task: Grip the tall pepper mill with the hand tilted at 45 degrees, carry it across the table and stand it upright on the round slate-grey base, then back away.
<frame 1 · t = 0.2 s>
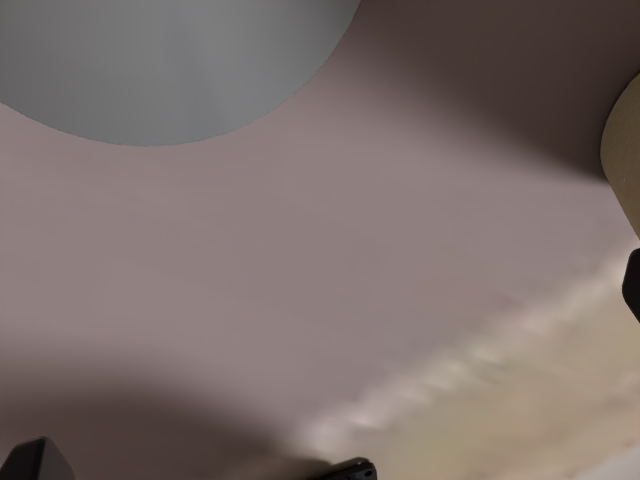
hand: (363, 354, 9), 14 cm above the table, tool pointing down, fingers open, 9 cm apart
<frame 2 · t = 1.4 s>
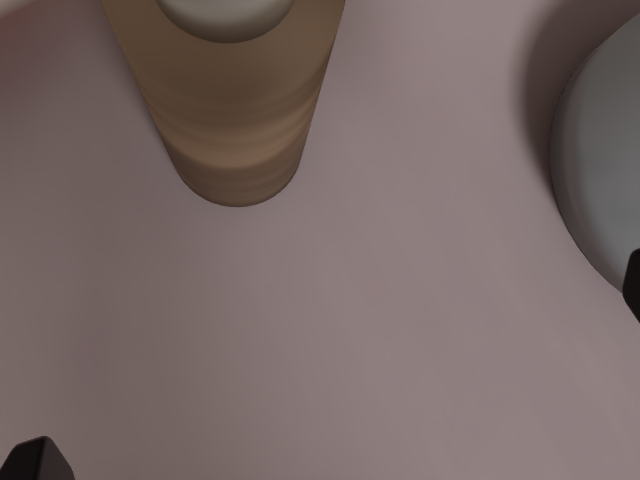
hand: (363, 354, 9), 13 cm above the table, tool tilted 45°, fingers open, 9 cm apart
pepper mill: (236, 142, 23), on the table
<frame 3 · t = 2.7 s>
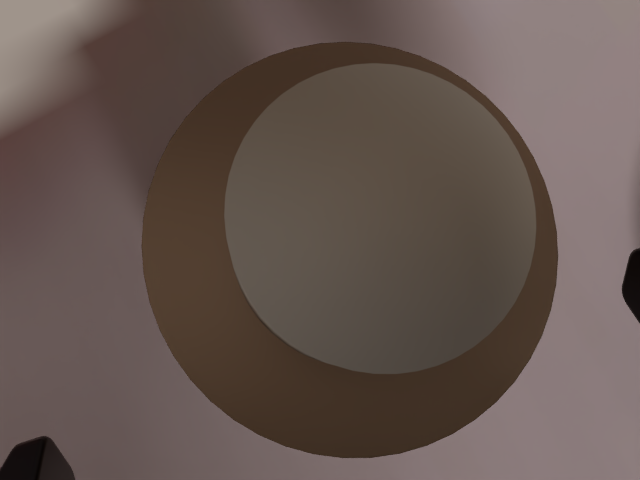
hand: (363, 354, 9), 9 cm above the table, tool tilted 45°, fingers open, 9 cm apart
pepper mill: (294, 299, 18), on the table
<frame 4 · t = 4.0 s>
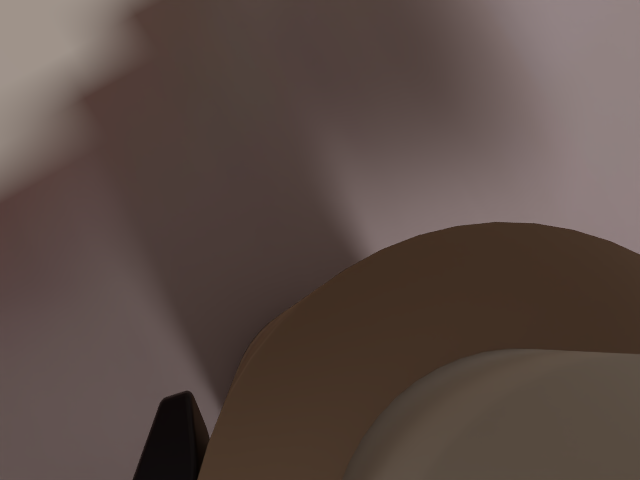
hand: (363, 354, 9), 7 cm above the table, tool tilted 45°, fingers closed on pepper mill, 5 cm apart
pepper mill: (332, 399, 15), on the table, touching gripper
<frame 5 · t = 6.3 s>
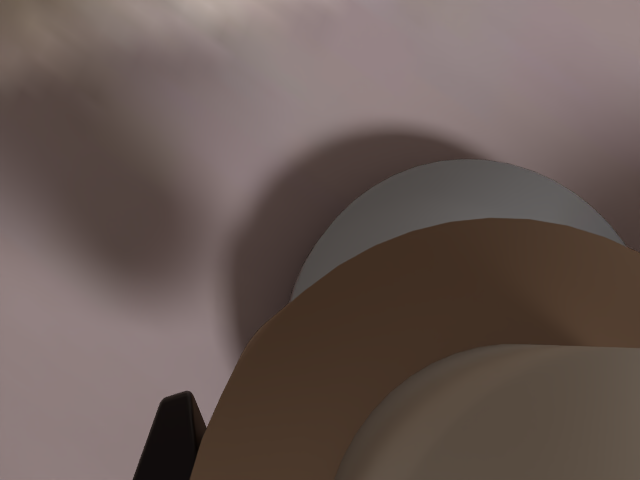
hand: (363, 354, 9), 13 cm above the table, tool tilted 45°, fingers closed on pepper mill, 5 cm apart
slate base: (455, 345, 23), on the table
pepper mill: (330, 397, 15), point 7 cm above the table, touching gripper
when the fingers open (10 cm above the table, at t = 8.3 s): pepper mill drops 1 cm, resting on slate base.
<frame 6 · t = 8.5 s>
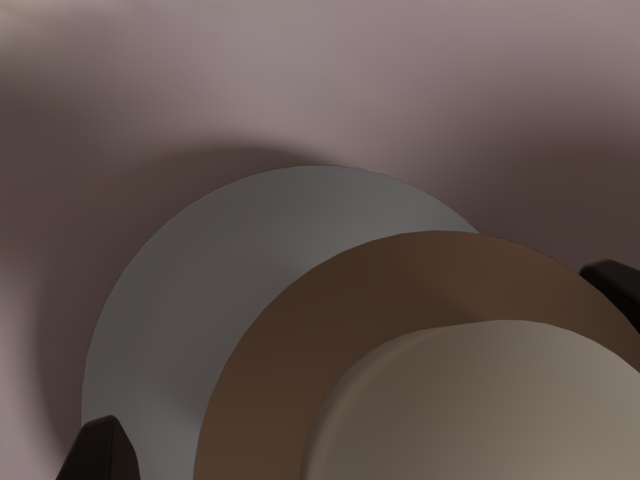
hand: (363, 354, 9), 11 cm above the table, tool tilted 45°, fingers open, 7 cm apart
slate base: (315, 385, 19), on the table
pepper mill: (326, 397, 17), point 3 cm above the table, touching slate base
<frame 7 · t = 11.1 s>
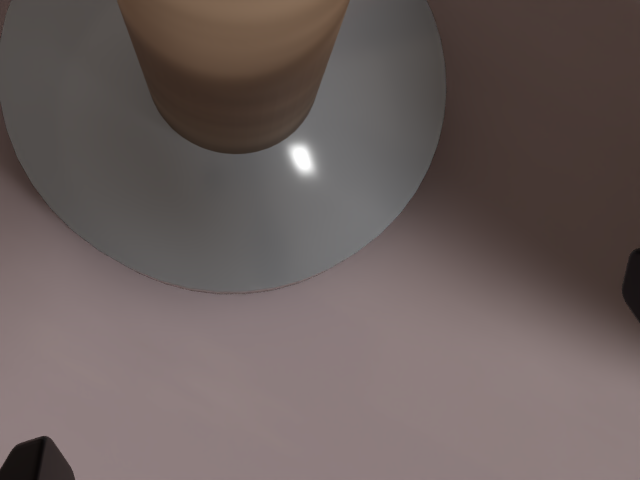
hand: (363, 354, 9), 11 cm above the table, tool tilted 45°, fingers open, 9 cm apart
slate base: (233, 99, 20), on the table
pepper mill: (234, 71, 18), point 3 cm above the table, touching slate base
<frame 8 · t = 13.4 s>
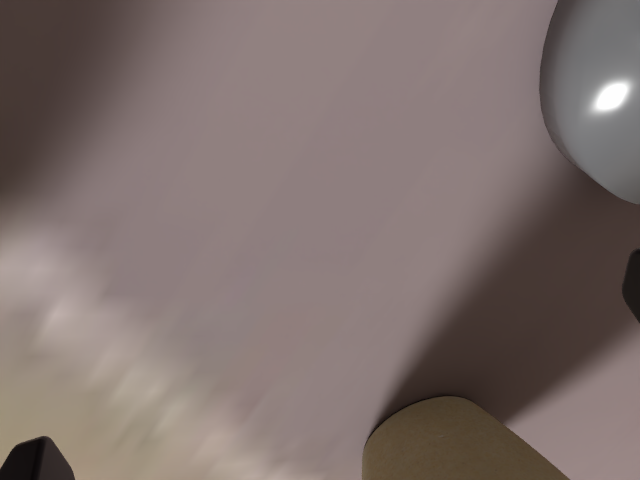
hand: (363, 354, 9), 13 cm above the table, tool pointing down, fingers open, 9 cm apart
plant pot: (417, 437, 35), on the table
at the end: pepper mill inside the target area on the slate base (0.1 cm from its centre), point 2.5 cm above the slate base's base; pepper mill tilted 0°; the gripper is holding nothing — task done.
